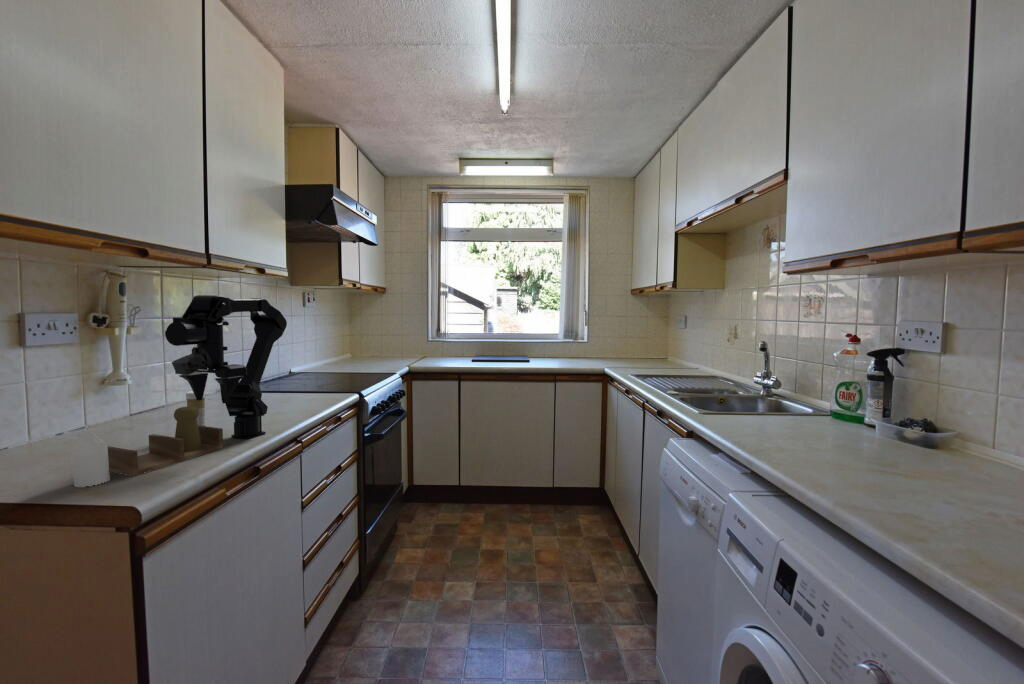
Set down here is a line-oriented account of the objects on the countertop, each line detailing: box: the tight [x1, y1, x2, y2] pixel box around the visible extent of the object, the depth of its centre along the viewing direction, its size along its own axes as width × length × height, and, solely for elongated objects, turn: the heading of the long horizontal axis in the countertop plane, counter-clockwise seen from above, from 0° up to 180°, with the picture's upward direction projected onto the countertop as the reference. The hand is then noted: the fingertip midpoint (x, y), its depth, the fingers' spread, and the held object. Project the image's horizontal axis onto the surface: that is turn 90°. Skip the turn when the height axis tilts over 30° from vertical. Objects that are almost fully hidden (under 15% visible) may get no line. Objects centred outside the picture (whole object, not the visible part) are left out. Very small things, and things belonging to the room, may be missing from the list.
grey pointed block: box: [70, 427, 111, 488], centre depth 90 cm, size 6×12×6 cm
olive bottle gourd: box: [173, 406, 202, 452], centre depth 110 cm, size 6×6×11 cm
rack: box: [107, 425, 224, 477], centre depth 106 cm, size 21×11×6 cm, turn 162°
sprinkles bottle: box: [185, 390, 207, 426], centre depth 125 cm, size 5×5×14 cm
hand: (212, 401), depth 113 cm, fingers open, 9 cm apart
